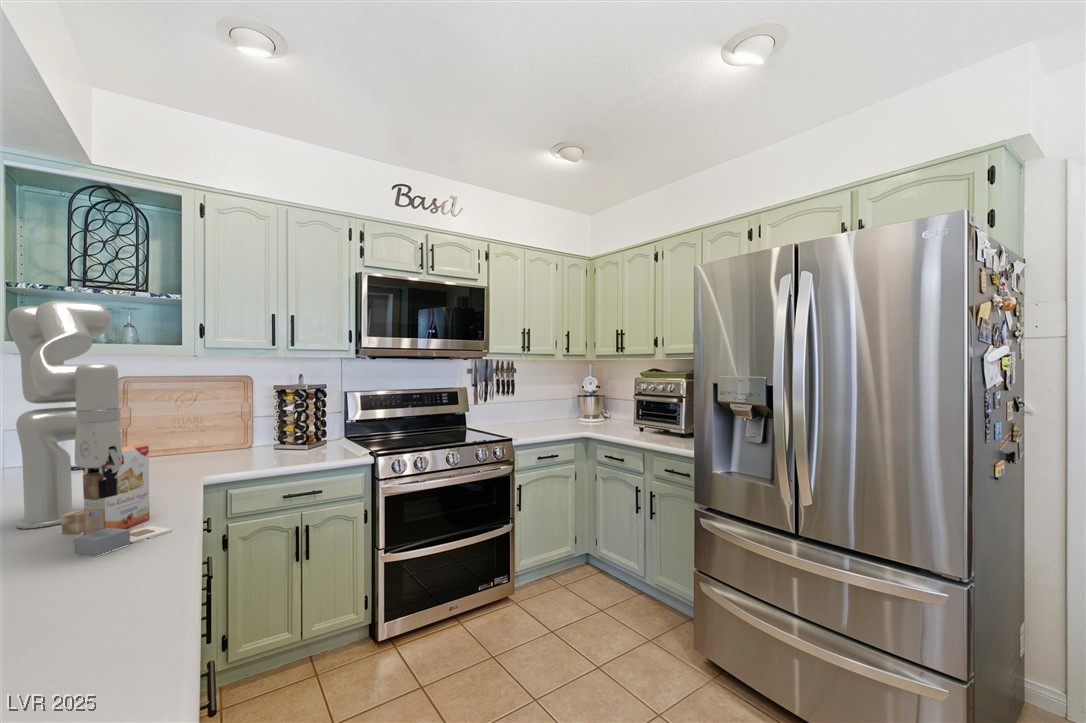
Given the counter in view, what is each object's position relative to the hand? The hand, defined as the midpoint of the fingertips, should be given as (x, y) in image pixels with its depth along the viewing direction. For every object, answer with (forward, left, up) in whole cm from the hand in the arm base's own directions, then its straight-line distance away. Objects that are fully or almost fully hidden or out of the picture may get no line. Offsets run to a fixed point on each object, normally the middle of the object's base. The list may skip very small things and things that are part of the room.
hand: (101, 495), depth 116 cm
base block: (0, 0, -13) cm, 13 cm away
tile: (-2, +9, -13) cm, 16 cm away
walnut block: (0, 0, 0) cm, 0 cm away
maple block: (-23, +6, -13) cm, 27 cm away
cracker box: (-15, +11, -13) cm, 23 cm away
